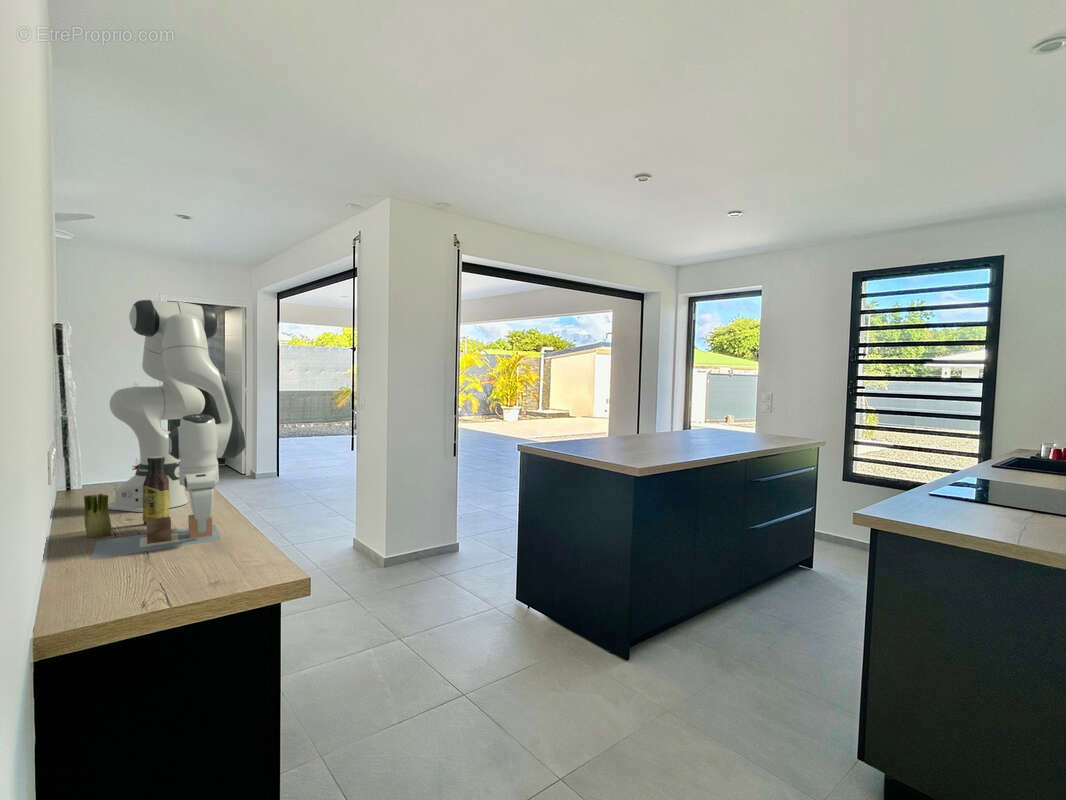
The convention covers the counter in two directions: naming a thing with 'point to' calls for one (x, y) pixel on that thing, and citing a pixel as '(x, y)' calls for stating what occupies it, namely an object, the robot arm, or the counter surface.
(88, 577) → the counter surface
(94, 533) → the fennel bulb
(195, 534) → the terracotta block
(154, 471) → the sauce bottle
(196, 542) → the build board
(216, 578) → the counter surface
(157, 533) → the walnut block
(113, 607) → the counter surface
